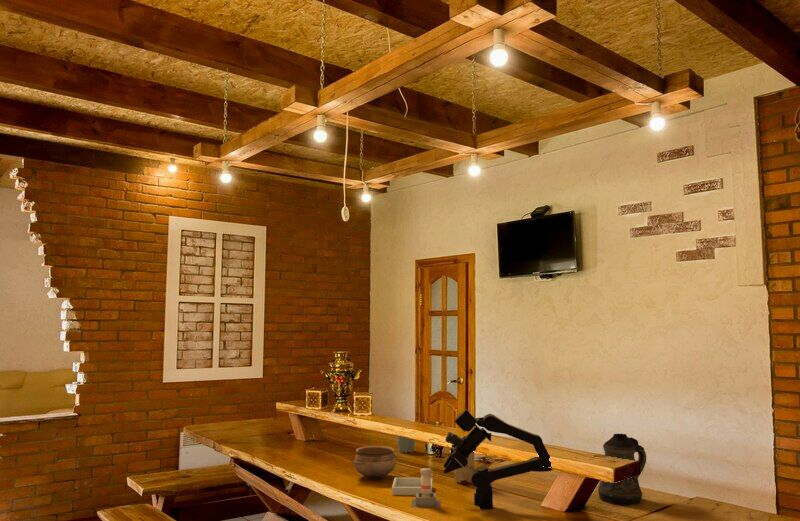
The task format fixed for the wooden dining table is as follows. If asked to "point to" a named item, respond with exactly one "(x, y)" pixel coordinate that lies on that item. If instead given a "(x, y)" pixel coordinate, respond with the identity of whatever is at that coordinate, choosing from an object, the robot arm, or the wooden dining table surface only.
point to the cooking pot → (375, 461)
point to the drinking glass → (405, 444)
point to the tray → (407, 486)
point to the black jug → (628, 488)
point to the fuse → (425, 482)
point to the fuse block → (426, 501)
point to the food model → (465, 470)
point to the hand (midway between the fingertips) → (444, 469)
